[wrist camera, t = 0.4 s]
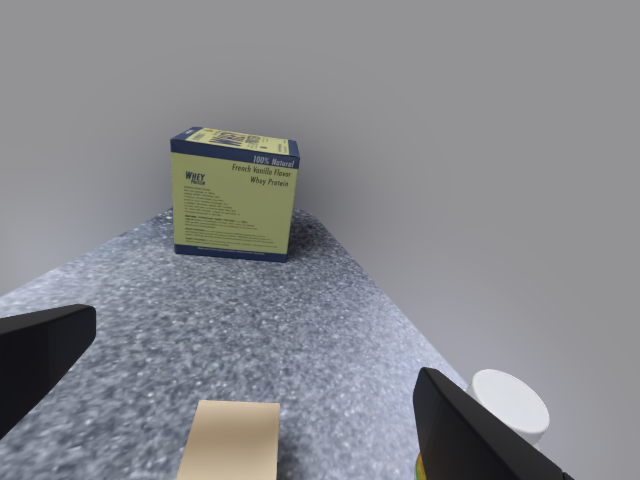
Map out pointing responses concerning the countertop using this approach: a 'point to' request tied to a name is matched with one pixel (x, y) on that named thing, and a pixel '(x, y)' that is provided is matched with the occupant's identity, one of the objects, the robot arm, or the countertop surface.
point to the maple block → (232, 442)
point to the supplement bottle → (505, 407)
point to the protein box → (233, 194)
